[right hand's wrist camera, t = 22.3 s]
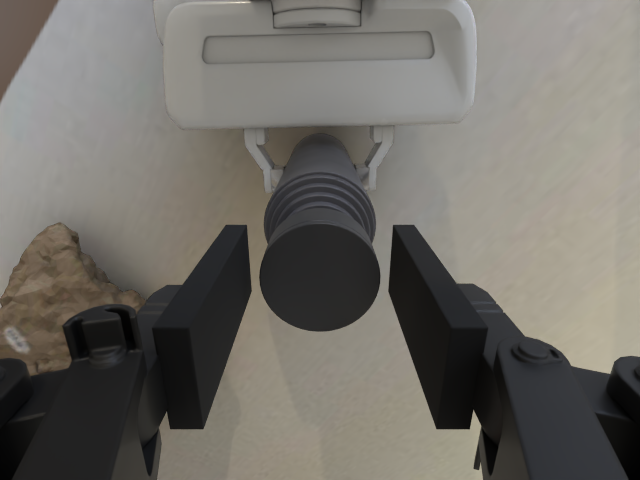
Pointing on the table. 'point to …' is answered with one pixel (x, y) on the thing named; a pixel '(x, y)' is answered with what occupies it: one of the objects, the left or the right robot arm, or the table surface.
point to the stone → (52, 299)
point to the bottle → (319, 185)
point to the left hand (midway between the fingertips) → (320, 190)
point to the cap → (319, 270)
